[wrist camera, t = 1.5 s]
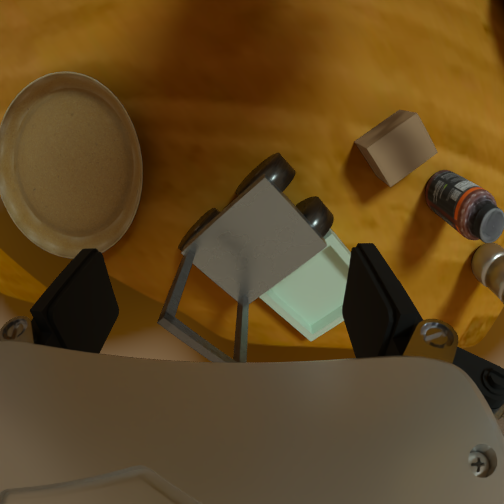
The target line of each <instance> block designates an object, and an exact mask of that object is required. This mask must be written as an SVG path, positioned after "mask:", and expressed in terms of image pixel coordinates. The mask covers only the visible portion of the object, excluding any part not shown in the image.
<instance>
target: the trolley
mask: <svg viewBox="0 0 504 504" xmlns="http://www.w3.org/2000/svg"><path fill="white" fill-rule="evenodd" d="M294 176H295V170H294V169H293V168H292V167H291V166H290V165H289V163H288V162H287V161H286V160H285V159H284V158H283V157H282V156H281V155H280V154H279V153H276V154H273V155H272V156H270V157H268V158H267V159H266V160H264V161H263V162H262V163H260V164H259V165H258V166H257V167H256V168H255V169H254V170H253V171H252V172H251V173H249V175H248V176H247V177H246V178H245V179H244V180H243V181H242V182H241V184H240V185H239V186H238V188H237V190H236V194H237V195H238V197H237V198H236V199H235V200H233V201H232V202H231V203H230V204H229V205H228V206H227V207H226V208H225V209H223V210H222V211H221V212H219V211H218V210H217V209H216V208H212V209H211V210H209V211H208V212H207V213H205V214H204V215H203V216H202V217H201V218H200V219H199V220H198V221H197V222H196V223H195V224H194V225H193V226H192V227H191V228H190V230H189V231H188V232H187V233H186V235H185V236H184V237H183V239H182V240H181V242H180V244H179V246H178V249H180V250H181V251H182V252H181V254H183V255H184V256H183V258H182V261H181V263H180V265H179V268H178V270H177V273H176V275H175V278H174V280H173V283H172V286H171V288H170V291H169V293H168V296H167V298H166V301H165V304H164V306H163V309H162V312H161V314H160V317H159V320H158V322H157V323H158V324H160V325H161V326H162V327H164V328H165V329H166V330H167V331H169V332H170V333H172V334H173V335H174V336H176V337H177V338H178V339H180V340H181V341H183V342H184V343H186V344H187V345H188V346H190V347H191V348H193V349H194V350H196V351H197V352H198V353H200V354H201V355H203V356H204V357H206V358H207V359H209V360H210V361H212V362H218V363H246V359H247V332H248V306H249V304H250V303H251V302H253V301H254V300H255V299H257V298H258V297H260V296H261V295H262V294H264V293H265V292H266V291H268V290H269V289H271V288H272V287H273V286H275V285H276V284H277V283H279V282H280V281H281V280H283V279H284V278H286V277H287V276H288V275H290V274H291V273H292V272H294V271H295V270H296V269H298V268H299V267H300V266H302V265H303V264H304V263H306V262H307V261H308V260H310V259H311V258H312V257H314V256H315V255H316V254H318V253H319V252H320V251H322V250H323V249H324V248H326V247H327V244H326V241H325V239H324V238H323V237H324V236H325V235H326V234H327V232H328V231H329V229H330V228H331V226H332V223H333V219H334V218H333V214H332V213H331V212H330V211H329V209H328V208H327V207H326V206H325V205H324V204H323V202H322V201H321V200H320V199H319V198H318V197H310V198H307V199H305V200H303V201H301V202H300V203H298V204H297V205H296V206H295V205H294V204H293V203H292V202H291V201H290V200H289V199H288V197H287V196H286V195H285V194H284V193H283V191H284V190H285V189H286V187H287V186H288V185H289V184H290V182H291V181H292V180H293V178H294ZM192 263H193V264H194V265H195V266H196V267H197V268H199V269H200V270H201V271H202V272H203V273H204V274H206V275H207V276H208V277H209V278H210V279H211V280H213V281H214V282H215V283H216V284H217V285H218V286H220V287H221V288H222V289H223V290H224V291H226V292H227V293H228V294H229V295H230V296H232V297H233V298H234V299H235V300H236V301H237V302H238V306H237V318H236V331H235V345H234V357H233V359H232V358H230V357H229V356H227V355H226V354H224V353H223V352H222V351H220V350H219V349H217V348H216V347H215V346H213V345H212V344H210V343H209V342H208V341H206V340H205V339H203V338H202V337H201V336H199V335H198V334H197V333H195V332H194V331H192V330H191V329H190V328H188V327H187V326H186V325H184V324H183V323H182V322H180V321H179V320H178V319H176V318H175V314H176V311H177V308H178V305H179V302H180V298H181V295H182V292H183V289H184V286H185V283H186V280H187V277H188V275H189V272H190V269H191V266H192Z"/></svg>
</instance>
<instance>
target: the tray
mask: <svg viewBox="0 0 504 504" xmlns="http://www.w3.org/2000/svg"><path fill="white" fill-rule="evenodd" d="M323 238H324V239H325V241H326V244H327V247H326V248H324V249H323V250H322V251H320V252H319V253H318V254H316V255H315V256H314V257H312V258H311V259H310V260H308V261H307V262H306V263H304V264H303V265H302V266H300V267H299V268H298V269H296V270H295V271H294V272H292V273H291V274H290V275H288V276H287V277H286V278H284V279H283V280H281V281H280V282H279V283H277V284H276V285H275V286H273V287H272V288H271V289H269V290H268V291H266V292H265V293H264V294H262V295H261V296H260V298H261V299H262V300H263V301H264V302H265V303H266V304H268V305H269V306H270V307H271V308H272V309H273V310H275V311H276V312H277V313H278V314H279V315H280V316H282V317H283V318H284V319H285V320H286V321H287V322H289V323H290V324H291V325H292V326H293V327H294V328H296V329H297V330H298V331H299V332H300V333H301V334H303V335H304V336H305V337H306V338H307V339H309V340H310V341H313V340H314V339H316V338H317V337H319V336H321V335H322V334H324V333H325V332H327V331H328V330H330V329H332V328H333V327H335V326H336V325H338V324H339V323H341V322H342V321H344V319H343V315H342V306H343V300H344V295H345V289H346V283H347V277H348V270H349V264H350V257H351V252H350V251H349V250H348V249H347V248H346V246H345V245H344V244H343V243H342V241H341V240H340V239H339V238H338V237H337V235H336V234H335V233H334V232H333V231H332V230H331V228H330V229H329V231H328V232H327V234H326V235H325V236H324V237H323Z"/></svg>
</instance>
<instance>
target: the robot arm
mask: <svg viewBox="0 0 504 504" xmlns="http://www.w3.org/2000/svg"><path fill="white" fill-rule="evenodd" d="M30 312H31V314H32V316H33V319H32V321H31V320H30V319H29V318H28V317H26V316H18V317H15V318H13V319H11V320H9V321H8V322H6V324H4V326H3V327H2V328H1V330H0V504H504V369H503V368H501V367H500V366H497V365H495V364H493V363H491V362H489V361H487V360H485V359H483V358H480V357H478V356H476V355H474V354H472V353H469V352H467V351H465V350H463V349H461V348H459V347H457V345H458V335H457V333H456V331H455V330H454V329H453V328H452V327H451V326H450V325H449V324H447V323H445V322H443V321H441V320H437V319H426V320H423V319H422V317H421V316H420V314H419V312H418V311H417V309H416V307H415V306H414V304H413V302H412V301H411V299H410V297H409V296H408V294H407V293H406V291H405V289H404V288H403V286H402V285H401V283H400V282H399V280H398V279H397V278H396V276H395V275H394V273H393V272H392V270H391V269H390V267H389V266H388V264H387V263H386V261H385V260H384V258H383V257H382V255H381V254H380V252H379V251H378V249H377V248H376V246H375V245H374V244H373V243H358V244H357V246H356V247H353V248H352V251H351V257H350V264H349V270H348V277H347V283H346V289H345V295H344V300H343V306H342V315H343V319H344V322H345V325H346V328H347V331H348V334H349V337H350V340H351V343H352V347H353V350H354V353H355V356H356V358H351V359H338V360H337V359H336V360H322V361H304V362H278V363H277V362H272V363H218V362H188V361H171V360H156V359H144V358H133V357H123V356H115V355H106V354H99V353H100V351H101V349H102V347H103V345H104V343H105V341H106V339H107V337H108V335H109V333H110V331H111V329H112V327H113V325H114V323H115V321H116V319H117V317H118V314H119V308H118V305H117V301H116V298H115V295H114V292H113V289H112V286H111V282H110V279H109V276H108V272H107V269H106V265H105V262H104V258H103V255H102V253H101V252H99V251H98V249H96V248H89V249H82V250H81V251H80V252H79V253H78V254H77V255H76V257H75V258H74V259H73V260H72V261H71V262H70V263H69V264H68V265H67V267H66V268H65V269H64V270H63V271H62V272H61V273H60V274H59V276H58V277H57V278H56V279H55V280H54V281H53V283H52V284H51V285H50V286H49V287H48V289H47V290H46V291H45V292H44V293H43V295H42V296H41V297H40V298H39V299H38V301H37V302H36V303H35V304H34V306H33V307H32V308H31V309H30Z"/></svg>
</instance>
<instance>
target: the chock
mask: <svg viewBox="0 0 504 504" xmlns="http://www.w3.org/2000/svg"><path fill="white" fill-rule="evenodd" d="M354 142H355V144H356V145H357V147H358V148H359V150H360V151H361V153H362V154H363V156H364V157H365V159H366V161H367V162H368V164H369V165H370V167H371V168H372V170H373V172H374V173H375V175H376V176H377V177H378V178H379V179H381V180H382V181H383V182H385V183H386V184H387V185H388V186H390V187H392V186H393V185H394V184H396V183H397V182H398V181H400V180H401V179H403V178H404V177H405V176H407V175H408V174H409V173H411V172H412V171H413V170H415V169H416V168H417V167H419V166H420V165H422V164H423V163H424V162H426V161H427V160H428V159H430V158H431V157H432V156H434V155H435V154H436V153H438V152H437V150H436V148H435V146H434V144H433V142H432V140H431V138H430V136H429V134H428V132H427V130H426V129H425V127H424V125H423V123H422V121H421V119H420V117H419V116H418V114H417V113H414V112H409V111H404V110H398V111H397V112H396V113H394V114H393V115H391V116H390V117H388V118H387V119H386V120H384V121H383V122H381V123H380V124H378V125H377V126H376V127H374V128H373V129H371V130H370V131H368V132H367V133H366V134H364V135H363V136H361V137H360V138H359V139H357V140H356V141H354Z"/></svg>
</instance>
